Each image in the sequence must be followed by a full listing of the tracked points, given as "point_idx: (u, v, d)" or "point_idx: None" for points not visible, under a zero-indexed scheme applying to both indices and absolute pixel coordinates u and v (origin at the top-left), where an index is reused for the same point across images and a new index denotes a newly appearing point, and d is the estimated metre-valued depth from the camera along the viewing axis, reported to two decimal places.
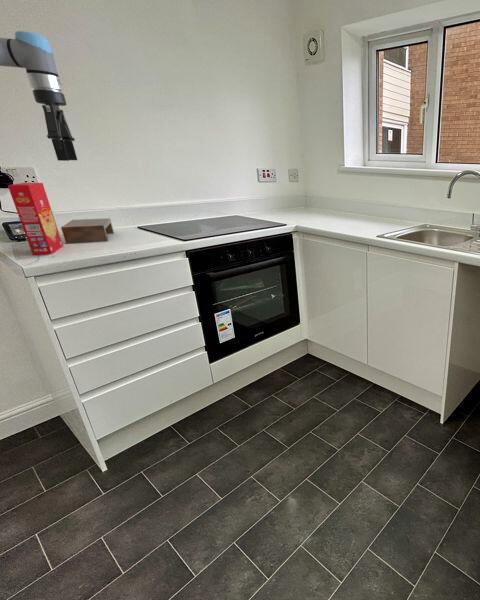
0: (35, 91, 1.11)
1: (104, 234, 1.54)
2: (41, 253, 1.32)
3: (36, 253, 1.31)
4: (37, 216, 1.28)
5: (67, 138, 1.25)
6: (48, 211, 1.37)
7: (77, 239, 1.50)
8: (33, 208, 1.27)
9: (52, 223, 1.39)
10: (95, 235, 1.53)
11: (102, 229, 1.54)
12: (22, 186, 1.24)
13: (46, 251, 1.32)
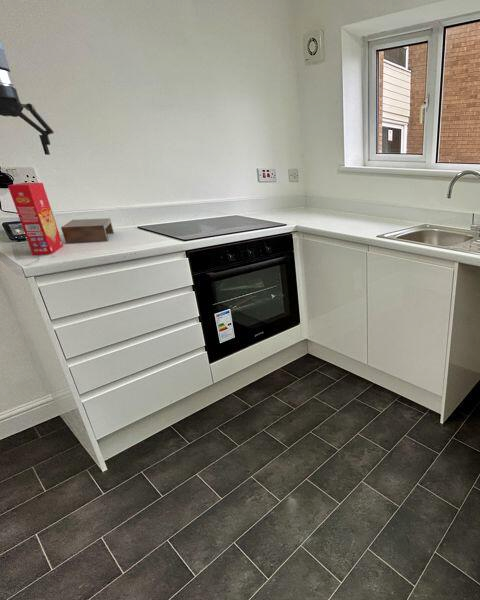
0: (7, 87, 1.16)
1: (104, 234, 1.54)
2: (41, 253, 1.32)
3: (36, 253, 1.31)
4: (37, 216, 1.28)
5: None
6: (48, 211, 1.37)
7: (77, 239, 1.50)
8: (33, 208, 1.27)
9: (52, 223, 1.39)
10: (95, 235, 1.53)
11: (102, 229, 1.54)
12: (22, 186, 1.24)
13: (46, 251, 1.32)
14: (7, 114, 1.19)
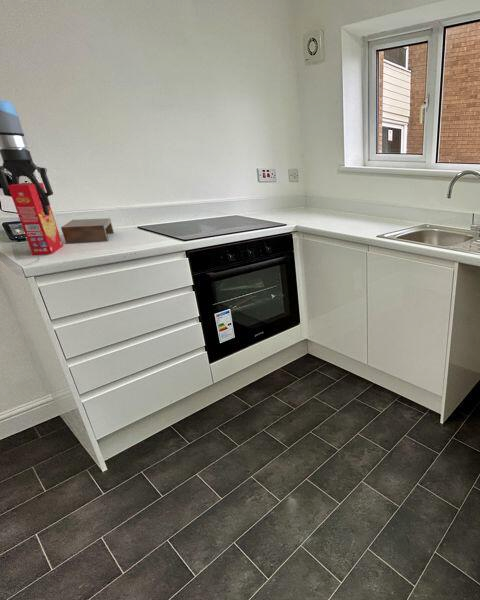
0: (22, 151, 1.24)
1: (104, 234, 1.54)
2: (41, 253, 1.32)
3: (36, 253, 1.31)
4: (37, 216, 1.28)
5: None
6: None
7: (77, 239, 1.50)
8: (33, 208, 1.27)
9: (52, 223, 1.39)
10: (95, 235, 1.53)
11: (102, 229, 1.54)
12: (22, 186, 1.24)
13: (46, 251, 1.32)
14: (21, 175, 1.27)
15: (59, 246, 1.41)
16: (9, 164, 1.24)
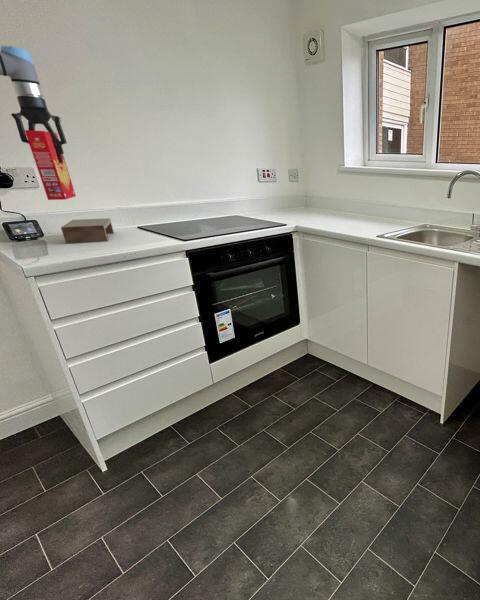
0: (38, 99, 1.31)
1: (104, 234, 1.54)
2: (56, 198, 1.39)
3: (51, 198, 1.39)
4: (52, 161, 1.35)
5: None
6: None
7: (77, 239, 1.50)
8: (48, 154, 1.34)
9: (65, 172, 1.46)
10: (95, 235, 1.53)
11: (102, 229, 1.54)
12: (38, 131, 1.31)
13: (61, 196, 1.40)
14: (37, 122, 1.34)
15: (72, 195, 1.49)
16: (26, 111, 1.32)
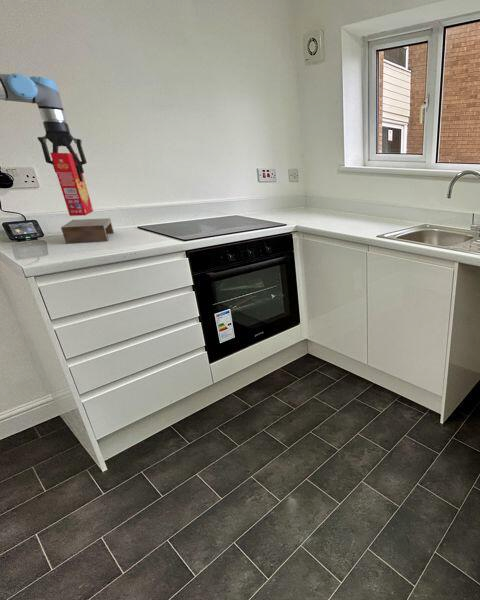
0: (62, 123, 1.43)
1: (104, 234, 1.54)
2: (77, 214, 1.50)
3: (72, 214, 1.50)
4: (74, 181, 1.47)
5: None
6: None
7: (77, 239, 1.50)
8: (71, 174, 1.45)
9: (85, 189, 1.57)
10: (95, 235, 1.53)
11: (102, 229, 1.54)
12: (62, 154, 1.42)
13: (81, 212, 1.51)
14: (61, 144, 1.45)
15: (90, 210, 1.60)
16: (51, 135, 1.43)
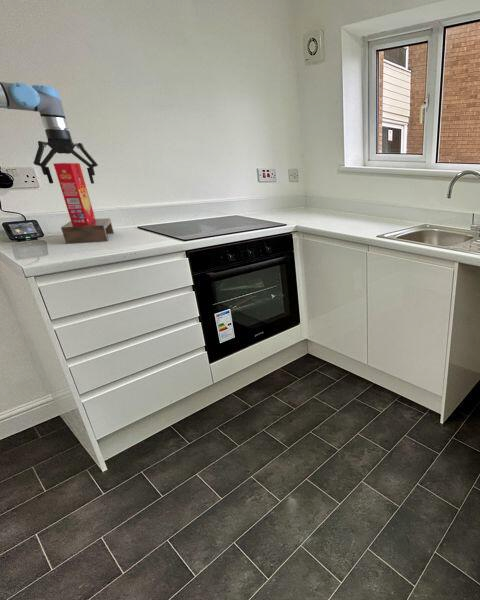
0: (64, 131, 1.44)
1: (104, 234, 1.54)
2: (79, 224, 1.52)
3: (75, 223, 1.51)
4: (77, 191, 1.48)
5: None
6: (84, 188, 1.57)
7: (77, 239, 1.50)
8: (73, 184, 1.47)
9: (87, 199, 1.59)
10: (95, 235, 1.53)
11: (102, 229, 1.54)
12: (65, 164, 1.44)
13: (84, 222, 1.52)
14: (62, 152, 1.46)
15: (93, 219, 1.62)
16: (52, 142, 1.44)
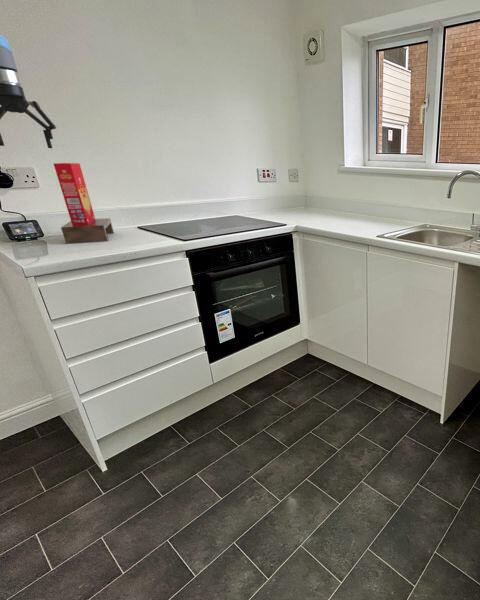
0: (15, 86, 1.28)
1: (104, 234, 1.54)
2: (79, 224, 1.52)
3: (75, 223, 1.51)
4: (77, 191, 1.48)
5: None
6: (84, 188, 1.57)
7: (77, 239, 1.50)
8: (73, 184, 1.47)
9: (87, 199, 1.59)
10: (95, 235, 1.53)
11: (102, 229, 1.54)
12: (65, 164, 1.44)
13: (84, 222, 1.52)
14: (14, 110, 1.30)
15: (93, 219, 1.62)
16: (2, 99, 1.28)
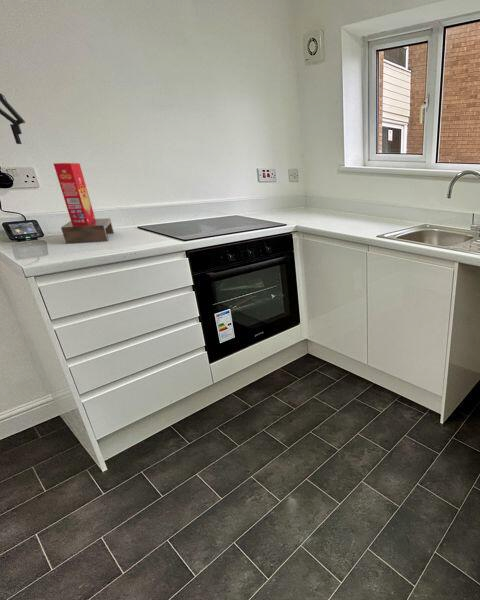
0: None
1: (104, 234, 1.54)
2: (79, 224, 1.52)
3: (75, 223, 1.51)
4: (77, 191, 1.48)
5: None
6: (84, 188, 1.57)
7: (77, 239, 1.50)
8: (73, 184, 1.47)
9: (87, 199, 1.59)
10: (95, 235, 1.53)
11: (102, 229, 1.54)
12: (65, 164, 1.44)
13: (84, 222, 1.52)
14: None
15: (93, 219, 1.62)
16: None
